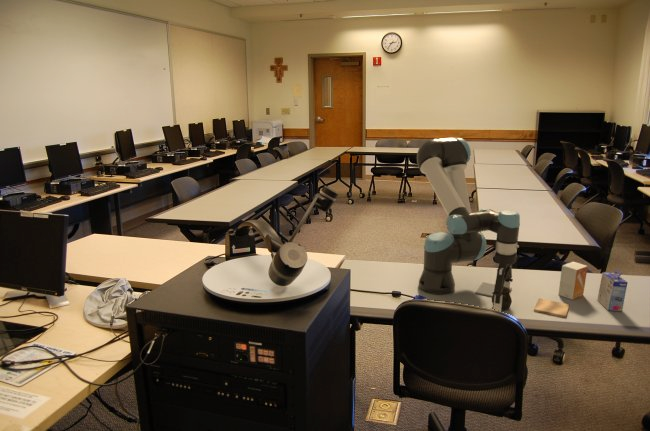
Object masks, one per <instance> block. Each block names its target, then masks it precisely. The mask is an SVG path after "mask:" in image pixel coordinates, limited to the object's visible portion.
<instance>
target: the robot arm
mask: <svg viewBox="0 0 650 431" xmlns="http://www.w3.org/2000/svg"><path fill="white" fill-rule="evenodd" d="M471 153H472V152H471V148H470V145H469V143H468V142H467V140H466V139H464V138H461V137H445V138H443V137H442V138H430V139H427V140H425V141H424V142H423V143H422V144H421V145H420V147H419V148H418V150H417V153H416V163H417V167H418V169H419V172H421V174H424V175H425V176H426V178H427V180H428V182H429V184H430V185H431V187H432V189H433V192H434V193H435V195H436V197H437V199H438V200H439V203H440V204H441V206H442V208H443V209H444V212H445V213H446V215H447V218H446V220H445V225H446V230H447V231H448V232H446V231H444V232H441V231H439V232H433V233H430V234H429V235H427V236H426V238H425V241H424V245H423V249H424V252H423V254H424V255H423V270H422V271H421V272H422V273H421V275H420V277H419V279H418V288H419V290H421V291H422V292H425V293H428V294H433V295H447V294H450V293H453V292H454V291H455V290H456V283H455V279H454V276H453V272H452V271H453V270H452V268H453V264H457V263H464V262H472V261H473V262H474V261H475V260H479V259H481V258H483V256H484V254H485V253H486V250H487V239H486V237H485V236H484V234H483V233H481V232H486V231H487V232H488V231H490V232H493V233H495V234H496V240H495V253H494V261H495V262H496V263H498V264H499V266H498V267H497V270H496V277H495V283H494V284H495V288H494V292H492V294H493V295H495V296H494V306H493V307H492V308H493V309H495V310H494V311H496V310H499V311H498V312H502V310H501V307H502V296H503V295H502V291H503V287H504V286H505V287H508V288H509V289H510V288H511V283H512V282H513V281H514V280H513V279H512V278H513V274H512V273H513V271H512V268H513V265H515V264H516V262H517V250H518V248H520V246H519V244H518V241H519V233H520V232H519V231H520V226H521V223H520V222H521V216H520V213H518V212H517V211H513V210H506V209H505V210H500V212H497V211H495V210H493V209H490V208H482V209H481V208H480V209H479V210H478V211H476V212H472V209H471V202H470V198H469V191H468V186H467V178H466V174H465V170H466V168H467V167H468V165H467V164H468V163H469V162H470V159H471V155H472V154H471Z"/></svg>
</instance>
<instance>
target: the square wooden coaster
mask: <svg viewBox="0 0 650 431" xmlns="http://www.w3.org/2000/svg"><path fill="white" fill-rule="evenodd" d="M569 308H570V304H568V303H564V302H559V301H554V300H549V299H544V298H538V300H537V302H536V304H535V306H534V308H533V312H537V313H540V314H541V313H542V314H546V315H551V316H556V317H561V318H564V319H565V318H567V314H568V312H569Z"/></svg>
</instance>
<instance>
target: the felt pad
mask: <svg viewBox="0 0 650 431" xmlns="http://www.w3.org/2000/svg"><path fill="white" fill-rule="evenodd" d="M494 288H495V283H489V282H481V284H480V285H479V287H478V288H477V289H476V291H475V294H477V295H480V296H481V295H482V296H486V297H490V298H492V297H493V294H492V292H494ZM511 291H512V287H510V292H511Z"/></svg>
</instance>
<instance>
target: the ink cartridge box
mask: <svg viewBox="0 0 650 431" xmlns="http://www.w3.org/2000/svg"><path fill="white" fill-rule="evenodd" d="M622 274H623V272H621V271H620V270H618V269H616V270H615V271H614V272H607V271H606V272H605V271H603V272H602V273H601V279H600V283H599V289H598V294H597V301H598V302H599V303H600V304H601V305H602V306H603V307H604V308H605V309H606V310H607V311H611V312H612V311H613V312H623V309H624V308H623V307H624V303H625V298H626V297H625V296H626V293H627V288H628V287H627V286H628V281H627V280H625V279H624V278H623V277H622V276H621V275H622Z"/></svg>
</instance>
